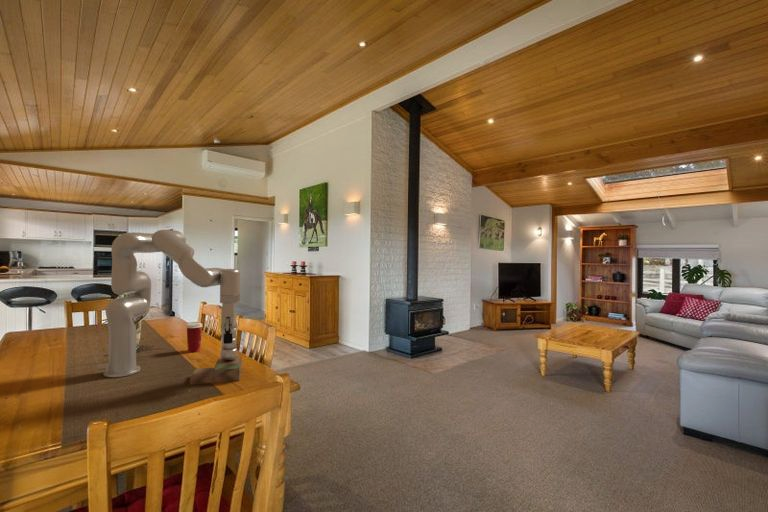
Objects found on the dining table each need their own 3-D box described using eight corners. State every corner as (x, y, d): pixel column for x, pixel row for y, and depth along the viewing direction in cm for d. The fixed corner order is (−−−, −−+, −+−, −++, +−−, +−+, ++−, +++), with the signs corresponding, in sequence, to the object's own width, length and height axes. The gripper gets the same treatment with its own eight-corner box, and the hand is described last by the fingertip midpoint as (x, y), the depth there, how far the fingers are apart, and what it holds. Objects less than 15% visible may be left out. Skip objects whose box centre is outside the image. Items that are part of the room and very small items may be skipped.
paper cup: (205, 350, 187) (205, 323, 187) (190, 354, 180) (191, 326, 180) (197, 347, 191) (197, 321, 191) (182, 351, 185) (182, 324, 184)
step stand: (189, 384, 141) (190, 367, 141) (195, 375, 151) (195, 359, 151) (239, 380, 146) (239, 363, 146) (241, 372, 156) (241, 356, 156)
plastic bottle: (231, 363, 147) (231, 314, 146) (216, 361, 148) (217, 313, 148) (240, 358, 153) (241, 311, 152) (227, 356, 155) (227, 310, 154)
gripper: (222, 296, 156) (222, 336, 157) (216, 302, 140) (216, 346, 140) (241, 295, 159) (240, 335, 159) (237, 301, 142) (236, 345, 142)
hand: (229, 340), depth 150 cm, fingers open, 8 cm apart
